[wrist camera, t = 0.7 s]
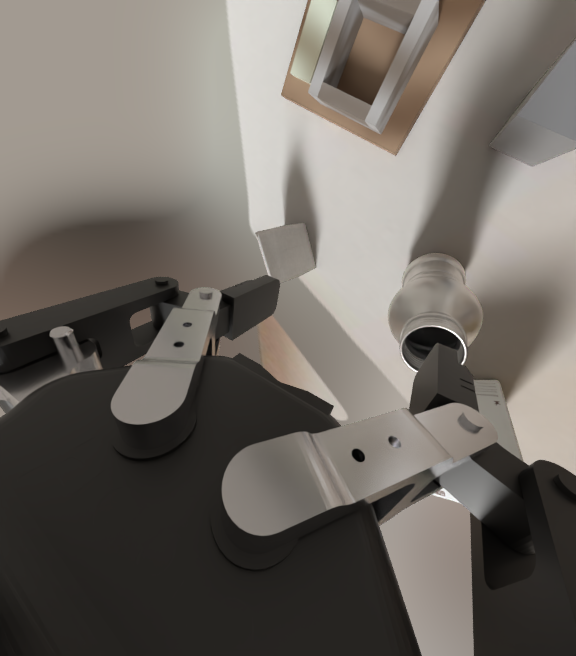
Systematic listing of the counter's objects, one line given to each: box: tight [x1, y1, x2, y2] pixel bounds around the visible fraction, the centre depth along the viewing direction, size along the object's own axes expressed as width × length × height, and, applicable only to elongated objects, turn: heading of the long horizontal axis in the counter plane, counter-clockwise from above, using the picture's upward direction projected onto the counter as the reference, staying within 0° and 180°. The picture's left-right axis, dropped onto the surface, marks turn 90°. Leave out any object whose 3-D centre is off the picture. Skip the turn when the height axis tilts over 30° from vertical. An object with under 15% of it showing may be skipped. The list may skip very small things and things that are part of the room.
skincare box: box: [432, 380, 523, 503], centre depth 28 cm, size 8×6×15 cm
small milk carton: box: [255, 223, 316, 284], centre depth 33 cm, size 4×7×10 cm, turn 19°
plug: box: [489, 38, 576, 166], centre depth 18 cm, size 4×4×10 cm
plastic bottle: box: [388, 253, 483, 372], centre depth 22 cm, size 6×7×20 cm
